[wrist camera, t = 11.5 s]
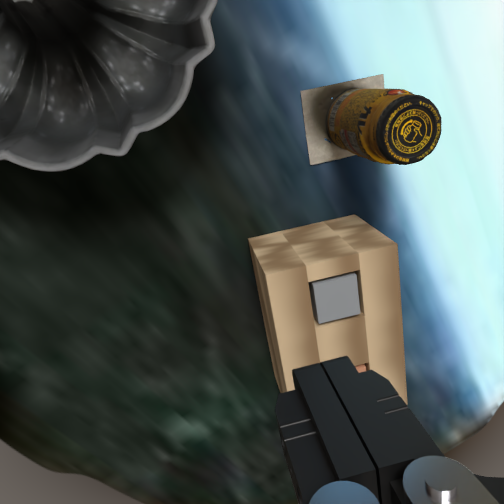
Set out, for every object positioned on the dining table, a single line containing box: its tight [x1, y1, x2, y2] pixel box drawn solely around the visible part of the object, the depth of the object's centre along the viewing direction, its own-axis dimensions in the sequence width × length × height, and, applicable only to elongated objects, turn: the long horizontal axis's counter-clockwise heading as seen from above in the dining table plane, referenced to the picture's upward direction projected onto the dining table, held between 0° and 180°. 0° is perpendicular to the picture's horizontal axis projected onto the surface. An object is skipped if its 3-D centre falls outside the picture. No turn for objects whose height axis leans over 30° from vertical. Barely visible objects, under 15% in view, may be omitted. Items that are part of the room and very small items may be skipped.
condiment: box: [301, 74, 441, 165], centre depth 39 cm, size 7×8×12 cm
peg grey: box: [308, 272, 360, 324], centre depth 44 cm, size 4×4×8 cm
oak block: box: [248, 214, 407, 404], centre depth 46 cm, size 12×18×10 cm, turn 10°
